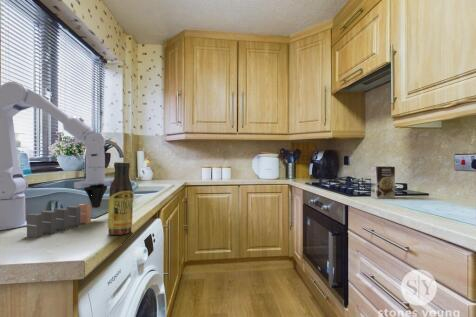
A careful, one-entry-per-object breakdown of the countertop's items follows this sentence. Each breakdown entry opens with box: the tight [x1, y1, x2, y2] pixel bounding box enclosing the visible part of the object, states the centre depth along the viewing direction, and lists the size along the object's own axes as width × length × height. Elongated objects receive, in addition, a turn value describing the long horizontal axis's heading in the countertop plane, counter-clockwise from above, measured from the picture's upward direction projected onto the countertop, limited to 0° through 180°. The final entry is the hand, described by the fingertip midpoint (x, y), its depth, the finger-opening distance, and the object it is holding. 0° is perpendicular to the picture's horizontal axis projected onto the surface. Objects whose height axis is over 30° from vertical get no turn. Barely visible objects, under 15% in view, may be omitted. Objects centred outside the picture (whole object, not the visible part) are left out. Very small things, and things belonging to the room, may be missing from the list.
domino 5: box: [77, 203, 92, 225], centre depth 85 cm, size 1×4×6 cm, turn 71°
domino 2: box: [40, 210, 57, 235], centre depth 74 cm, size 1×4×6 cm, turn 71°
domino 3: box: [54, 207, 70, 231], centre depth 77 cm, size 1×4×6 cm, turn 71°
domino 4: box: [66, 205, 81, 227], centre depth 81 cm, size 1×4×6 cm, turn 71°
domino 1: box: [26, 213, 44, 239], centre depth 70 cm, size 1×4×6 cm, turn 71°
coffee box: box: [370, 165, 396, 200], centre depth 133 cm, size 9×6×16 cm
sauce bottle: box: [107, 161, 134, 236], centre depth 73 cm, size 7×6×20 cm
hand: (96, 207), depth 89 cm, fingers closed
